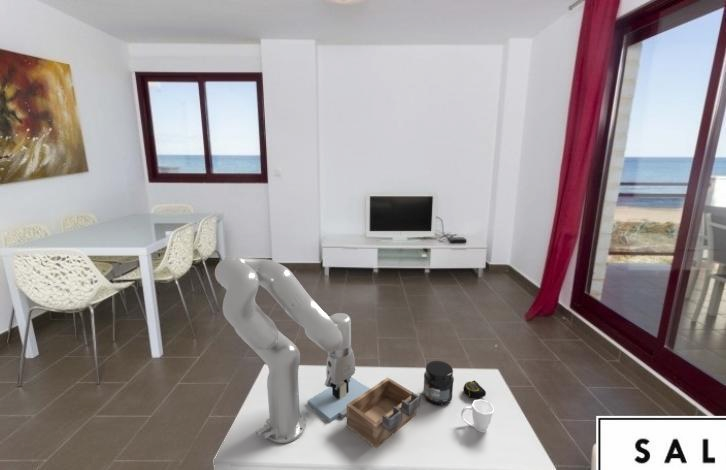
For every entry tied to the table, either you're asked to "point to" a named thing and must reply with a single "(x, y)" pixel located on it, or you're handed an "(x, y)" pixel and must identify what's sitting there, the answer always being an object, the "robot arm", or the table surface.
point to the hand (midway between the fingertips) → (340, 393)
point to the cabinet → (381, 411)
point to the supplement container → (438, 383)
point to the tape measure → (474, 390)
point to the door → (337, 400)
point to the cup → (480, 414)
